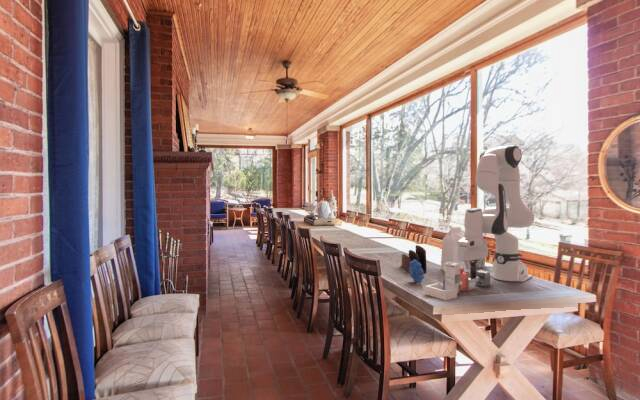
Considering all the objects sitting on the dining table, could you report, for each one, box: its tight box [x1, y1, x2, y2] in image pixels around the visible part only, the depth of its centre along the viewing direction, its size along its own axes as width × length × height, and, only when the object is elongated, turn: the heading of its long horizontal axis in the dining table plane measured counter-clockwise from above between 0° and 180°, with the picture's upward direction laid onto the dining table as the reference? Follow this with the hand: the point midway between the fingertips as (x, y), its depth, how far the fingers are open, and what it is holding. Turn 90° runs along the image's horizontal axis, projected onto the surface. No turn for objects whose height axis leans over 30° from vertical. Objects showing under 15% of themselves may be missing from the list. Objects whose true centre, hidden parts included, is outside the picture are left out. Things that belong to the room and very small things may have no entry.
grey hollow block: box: [474, 269, 491, 288], centre depth 209 cm, size 4×5×7 cm
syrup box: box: [442, 262, 460, 294], centre depth 195 cm, size 6×6×14 cm
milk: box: [440, 226, 470, 273], centre depth 243 cm, size 12×12×26 cm
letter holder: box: [401, 244, 428, 274], centre depth 247 cm, size 10×20×14 cm, turn 3°
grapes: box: [408, 259, 425, 284], centre depth 215 cm, size 12×7×12 cm, turn 22°
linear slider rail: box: [459, 262, 492, 292], centre depth 205 cm, size 24×7×12 cm, turn 124°
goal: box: [424, 283, 458, 301], centre depth 191 cm, size 8×12×4 cm, turn 34°
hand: (473, 268), depth 204 cm, fingers open, 7 cm apart
